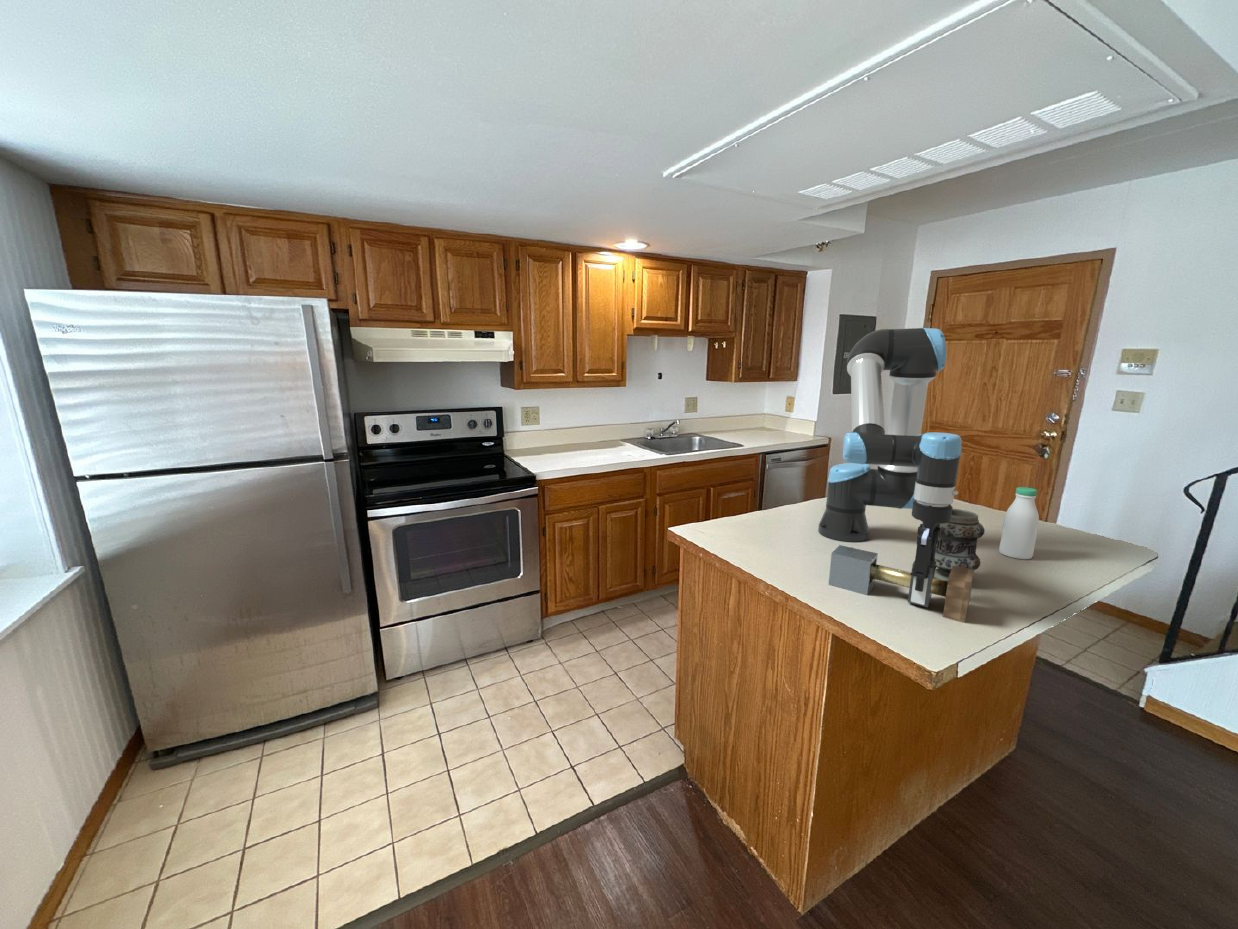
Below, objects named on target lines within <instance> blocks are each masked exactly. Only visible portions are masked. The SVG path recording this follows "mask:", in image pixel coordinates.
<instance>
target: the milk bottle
mask: <svg viewBox="0 0 1238 929" xmlns="http://www.w3.org/2000/svg"><path fill="white" fill-rule="evenodd" d="M1037 493H1038V490H1037V489H1035V488H1032V487H1025V486H1019V487H1018V486H1017V487H1016V489H1015V499H1014V500H1013V502H1012V503H1011V505H1009V507H1008V509H1007V510H1006V512H1005V515H1004V520H1003V525H1002V530H1001V534H1000V535H1001V536H1000V540H999V541H1000V543H999V548H998V551H999V553H1000V554H1001V555H1004V556H1006V557H1008V558H1013V559H1018V560H1030V559H1032V558H1033V557H1034V551H1035V547H1036V540H1037V536H1038V535H1037V534H1038V529H1039V522H1040V516H1039V512H1038V509H1037V505H1036V502H1035V500H1036V498H1037Z"/></svg>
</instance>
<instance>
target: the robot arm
mask: <svg viewBox="0 0 1238 929" xmlns="http://www.w3.org/2000/svg"><path fill="white" fill-rule="evenodd" d="M946 362H947V342H946V338H945V334H944V332H943V331H942V330H941V329H938V328H932V327H931V328H929V327H917V328H916V327H914V328H913V327H912V328H891V329H890V328H889V329H888V328H882V329H876V330H874V331H871V332H870V333H868V334H866V335H864V336H863V337H861V339H859V340H858V341H857V342H856V343H855V345H854V346H853V347H852V348H851V350H850V352H849V354H848V357H847V360H846V371H847V374H848V375H849V376H850V390H851V391H850V392H851V394H850V395H851V396H850V397H851V398H850V401H851V406H850V407H851V408H850V409H851V432H847V433H846V434H845V435H844V437H843V443H842V444H843V445H842V446H843V447H842V458H843V460H844V461H845V462H844V463H839V464H835V465H833V466H832V467H830V469H829V474H828V479H827V494H826V502H825V503H826V504H825V510H824V512H823V515H822V517H821V519H820V520H819V523H818V529H817V532H818V533H819V534H820V535H822V536H824V537H826V538H828V539H832V540H835V541H840V542H849V543H850V542H853V543H855V542H863V541H866V540H868V539H869V537H870V527H869V524H868V519H867V516H866V508H867V506H870V507H871V506H872V507H883V508H893V509H899V510H900V509H907V510H908V509H910V510H911V516H912V517H913V518H914V519H915V520H917V521H921V522H922V523H920V524H919V526H918V527H917V532H916V533H917V536H916V538H917V540H916V552H915V559H914V561H915V564H914V572H913V573H912V571H911V573H910V575H912V576H914V579H913V587H912V595H911V602H915V603H918V604H922V605H924V604H925V599H926V591H927V584H928V570H929V564H930V560H931V561H935V551H936V544H937V542H938V536H939V534H940V530H941V527H940V524H943V523H948V522H950V521H951V516H952V509H953V508H954V507H953V506H952V504H953V503H954V500H955V496H957V495H958V494H959V491H958V490H955V489H956V486H957V479H958V472H959V466H960V465H959V464H960V461H961V460H960V459H961V455H962V451H963V449H962V437H961V436H960V435H958V434H955V433H950V432H949V433H948V432H940V431H939V432H938V431H937V432H925V433H922V428H923V421H924V414H925V407H926V401H927V395H928V387H929V383H930V382H931V381H933V380H934V379H935V378H936V375H937V371H938V372H939V371H942V370H943V369H944V368H945V366H946ZM883 371H889V375H888V376H889V378H890V379H891V380H892V381H893V391H892V399H891V406H890V414H889V415H890V416H889V420H888V421H889V423H888V428H887V434H886V426H885V414H884V412H885V411H884V397H883V385H882V384H883V383H882V373H883ZM870 465H877V468H872V467H871V466H870ZM936 566H937V565H936Z"/></svg>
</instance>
